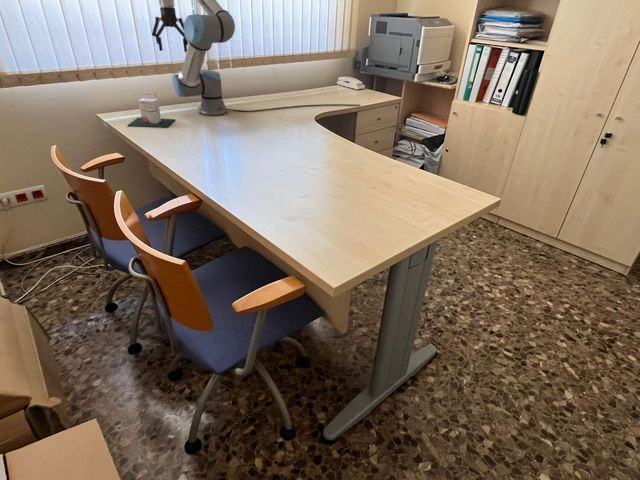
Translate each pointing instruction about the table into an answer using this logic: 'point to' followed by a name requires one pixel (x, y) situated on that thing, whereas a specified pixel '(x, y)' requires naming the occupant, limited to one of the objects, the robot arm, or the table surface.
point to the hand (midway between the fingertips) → (173, 51)
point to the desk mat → (162, 124)
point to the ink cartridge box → (149, 108)
